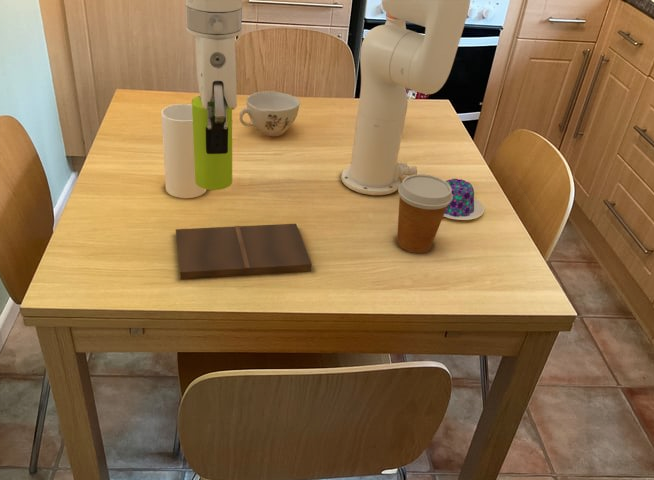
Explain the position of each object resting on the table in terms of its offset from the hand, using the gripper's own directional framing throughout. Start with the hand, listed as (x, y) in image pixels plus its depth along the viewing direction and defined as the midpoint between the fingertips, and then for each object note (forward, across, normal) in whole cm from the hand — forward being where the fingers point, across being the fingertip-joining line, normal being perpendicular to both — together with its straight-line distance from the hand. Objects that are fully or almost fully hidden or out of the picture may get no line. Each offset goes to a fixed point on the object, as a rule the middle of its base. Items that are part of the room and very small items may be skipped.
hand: (214, 142), depth 96 cm
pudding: (+21, +12, -50) cm, 55 cm away
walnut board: (+21, 0, -5) cm, 21 cm away
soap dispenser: (+7, 0, 0) cm, 7 cm away
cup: (+21, +24, +3) cm, 32 cm away
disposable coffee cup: (+21, 0, -37) cm, 42 cm away
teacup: (+21, +50, -18) cm, 57 cm away
